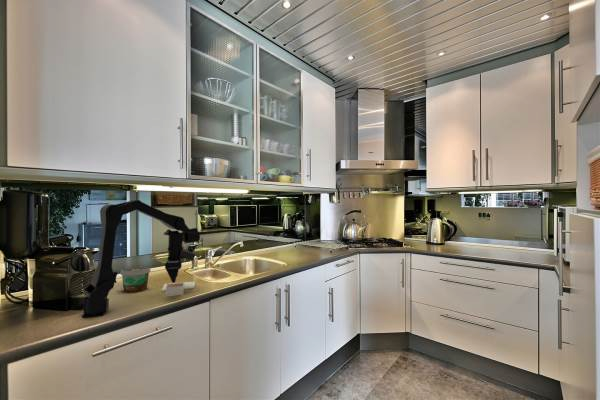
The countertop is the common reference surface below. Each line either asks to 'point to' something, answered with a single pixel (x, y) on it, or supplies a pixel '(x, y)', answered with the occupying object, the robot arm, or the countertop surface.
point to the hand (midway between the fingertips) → (174, 279)
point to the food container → (135, 280)
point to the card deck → (174, 289)
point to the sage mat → (186, 285)
